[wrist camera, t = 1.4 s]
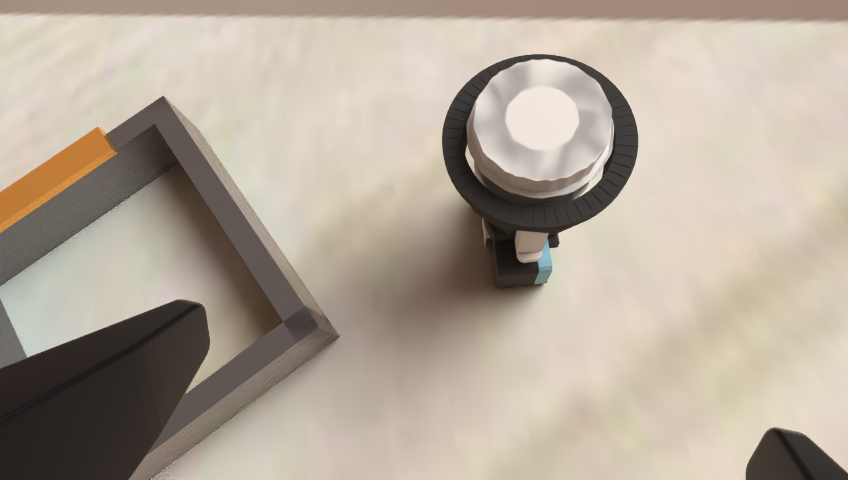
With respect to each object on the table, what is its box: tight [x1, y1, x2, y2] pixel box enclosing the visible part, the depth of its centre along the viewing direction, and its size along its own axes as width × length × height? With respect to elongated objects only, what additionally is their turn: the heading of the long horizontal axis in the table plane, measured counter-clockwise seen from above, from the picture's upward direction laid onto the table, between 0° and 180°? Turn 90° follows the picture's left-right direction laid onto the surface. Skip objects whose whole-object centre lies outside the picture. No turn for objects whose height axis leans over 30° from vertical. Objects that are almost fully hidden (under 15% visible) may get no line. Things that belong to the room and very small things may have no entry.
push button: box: [442, 54, 638, 288], centre depth 19 cm, size 7×5×10 cm
